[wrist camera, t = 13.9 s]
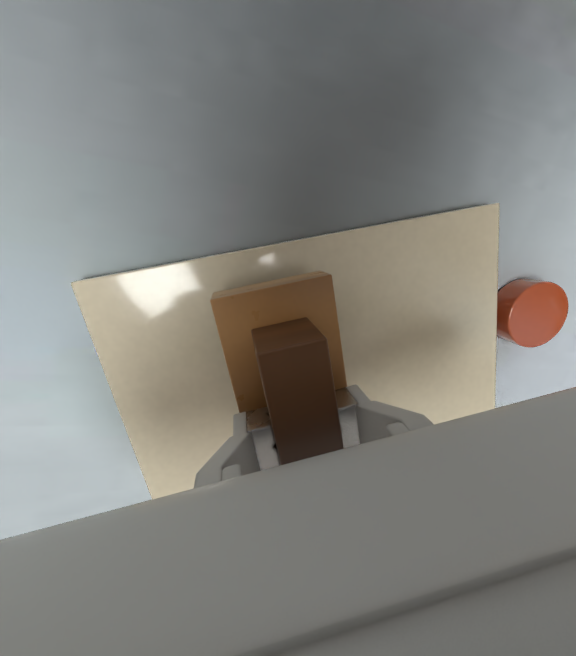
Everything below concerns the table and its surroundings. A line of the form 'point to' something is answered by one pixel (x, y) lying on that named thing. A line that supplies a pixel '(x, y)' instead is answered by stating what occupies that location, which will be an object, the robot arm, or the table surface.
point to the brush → (286, 358)
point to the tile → (353, 317)
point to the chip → (530, 312)
